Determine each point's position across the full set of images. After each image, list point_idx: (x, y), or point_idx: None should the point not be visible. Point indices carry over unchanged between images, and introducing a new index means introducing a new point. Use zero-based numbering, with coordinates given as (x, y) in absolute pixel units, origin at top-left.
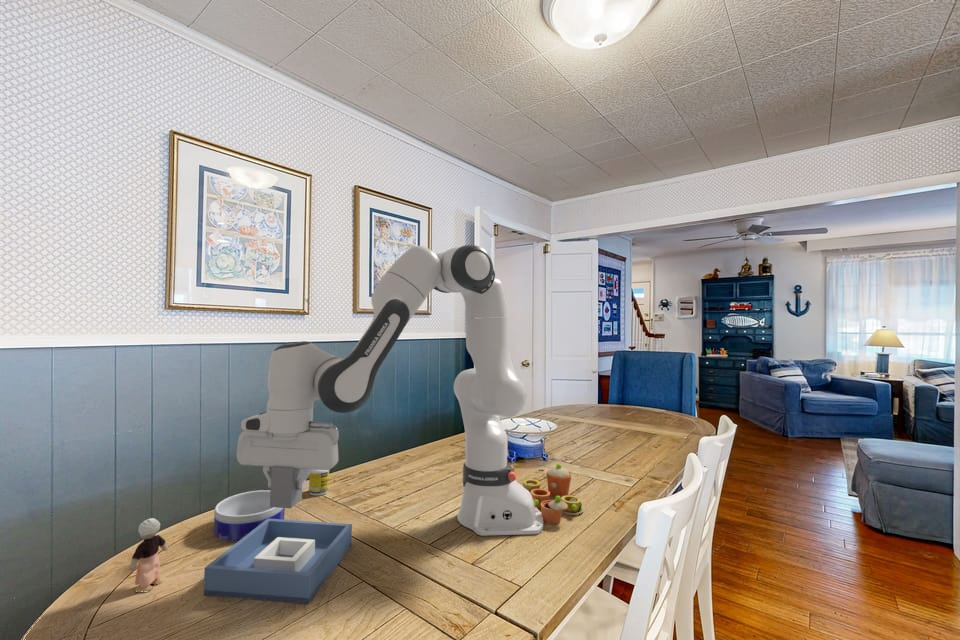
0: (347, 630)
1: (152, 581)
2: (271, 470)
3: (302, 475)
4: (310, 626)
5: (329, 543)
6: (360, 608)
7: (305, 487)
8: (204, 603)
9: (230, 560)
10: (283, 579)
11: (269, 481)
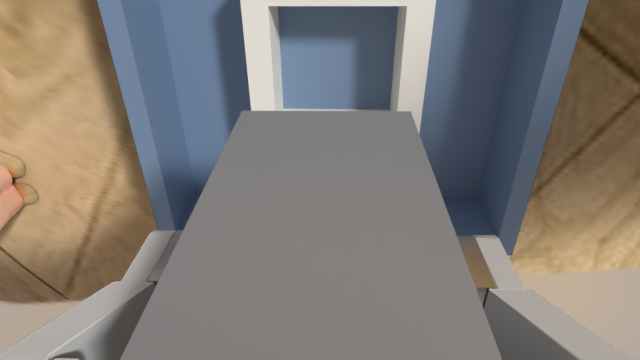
0: (604, 267)
1: (16, 192)
2: (80, 358)
3: (454, 244)
4: (514, 264)
5: None
6: (635, 205)
7: (491, 236)
8: None
9: (170, 143)
10: None
11: None
